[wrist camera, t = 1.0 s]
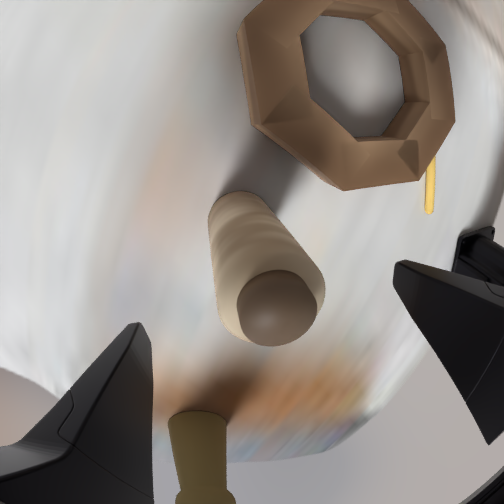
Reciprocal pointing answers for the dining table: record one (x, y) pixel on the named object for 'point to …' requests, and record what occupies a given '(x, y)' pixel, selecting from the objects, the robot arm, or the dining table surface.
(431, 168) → the thin yellow rod
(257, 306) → the beige wooden peg
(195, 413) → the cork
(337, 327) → the dining table surface
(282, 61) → the brown octagonal ring
